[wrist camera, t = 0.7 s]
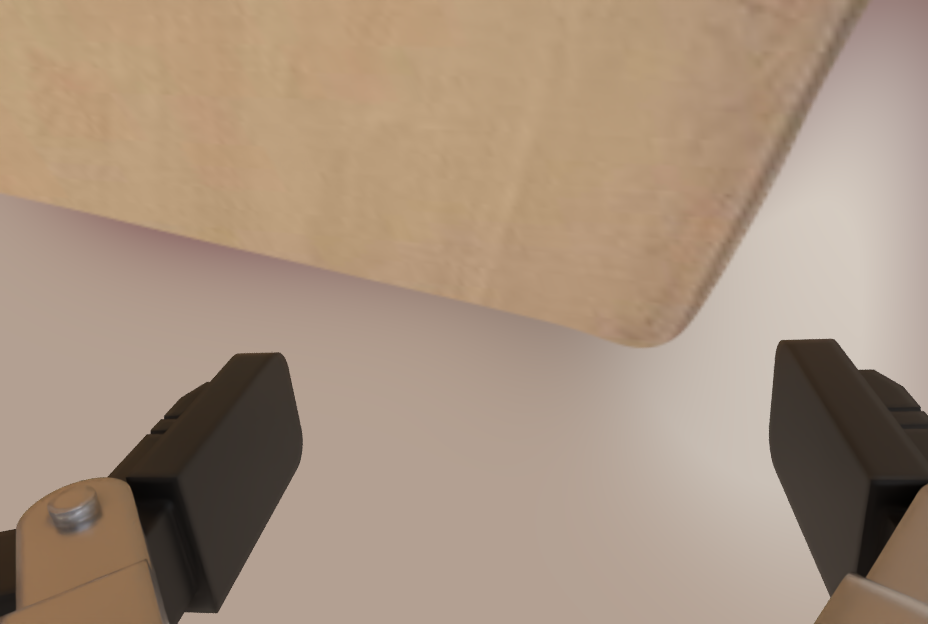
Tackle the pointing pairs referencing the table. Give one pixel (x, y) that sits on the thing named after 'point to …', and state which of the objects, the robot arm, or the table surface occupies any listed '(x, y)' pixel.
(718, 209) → the table surface
